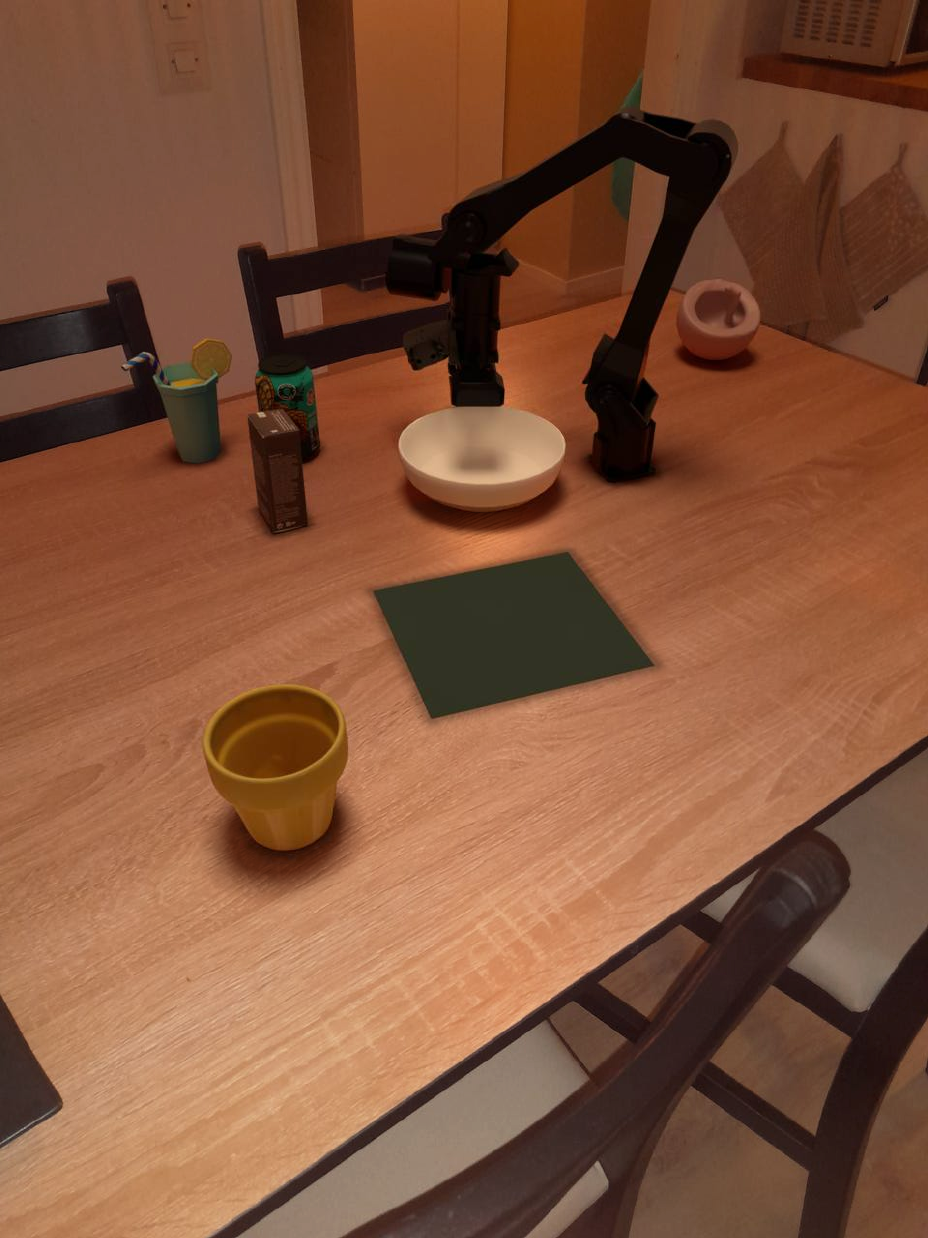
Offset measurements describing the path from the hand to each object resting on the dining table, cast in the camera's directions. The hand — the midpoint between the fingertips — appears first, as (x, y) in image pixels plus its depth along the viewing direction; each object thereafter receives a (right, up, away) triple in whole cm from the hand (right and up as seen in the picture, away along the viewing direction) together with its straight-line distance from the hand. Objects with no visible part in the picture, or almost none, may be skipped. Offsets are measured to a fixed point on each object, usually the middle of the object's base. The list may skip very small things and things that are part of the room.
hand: (470, 424), depth 124 cm
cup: (-35, -5, -2) cm, 35 cm away
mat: (+3, -26, -28) cm, 39 cm away
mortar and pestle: (+37, +15, +23) cm, 46 cm away
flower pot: (-15, -41, -48) cm, 64 cm away
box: (-22, -13, -13) cm, 28 cm away
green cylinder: (-23, -4, -1) cm, 23 cm away
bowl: (+1, -9, -8) cm, 12 cm away
